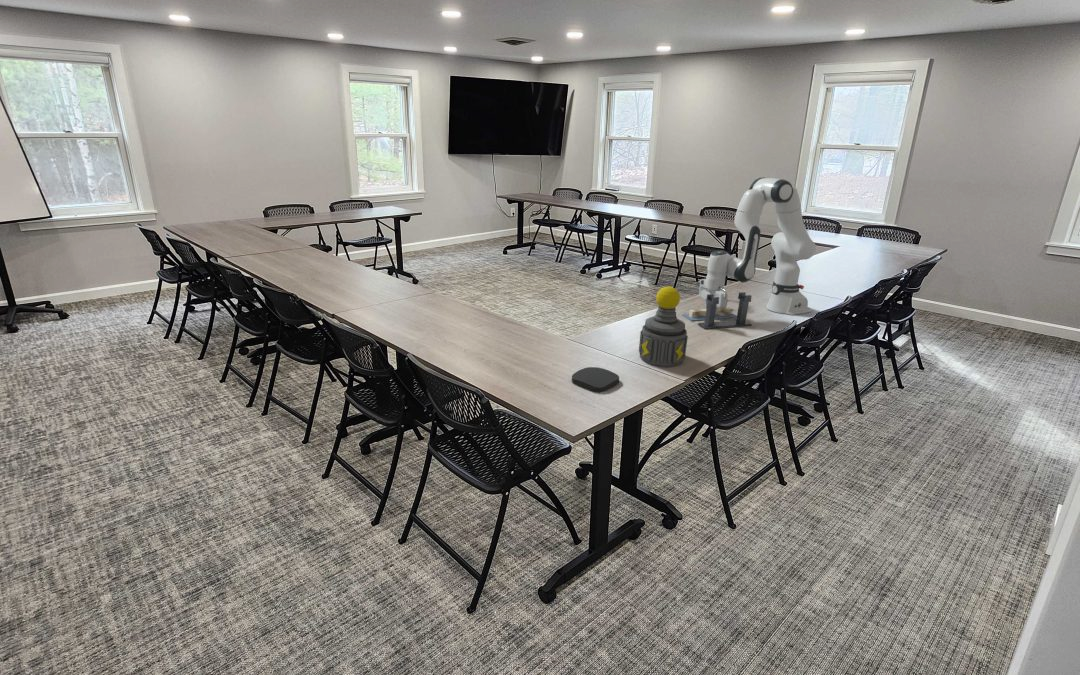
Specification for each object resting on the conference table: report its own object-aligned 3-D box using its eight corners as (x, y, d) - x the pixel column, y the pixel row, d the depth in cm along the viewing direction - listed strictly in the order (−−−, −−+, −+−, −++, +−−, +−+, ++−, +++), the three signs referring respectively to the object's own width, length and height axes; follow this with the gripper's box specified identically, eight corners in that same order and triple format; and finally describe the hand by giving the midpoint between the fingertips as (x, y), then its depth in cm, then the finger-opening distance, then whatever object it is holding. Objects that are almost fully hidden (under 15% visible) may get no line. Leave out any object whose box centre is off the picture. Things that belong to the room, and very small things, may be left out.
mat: (728, 312, 286) (728, 310, 286) (738, 317, 278) (738, 316, 278) (682, 315, 280) (682, 314, 280) (691, 321, 272) (691, 320, 272)
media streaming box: (599, 395, 197) (600, 387, 196) (567, 382, 206) (567, 375, 205) (623, 382, 207) (623, 375, 206) (591, 370, 216) (591, 363, 215)
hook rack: (744, 321, 273) (748, 291, 268) (751, 325, 268) (756, 295, 263) (697, 324, 267) (702, 294, 262) (704, 329, 262) (708, 298, 256)
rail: (728, 313, 283) (729, 307, 282) (731, 314, 280) (732, 309, 279) (688, 315, 278) (689, 310, 276) (691, 317, 275) (692, 311, 274)
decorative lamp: (695, 361, 226) (704, 289, 215) (660, 371, 216) (669, 296, 206) (661, 346, 241) (669, 278, 230) (628, 354, 231) (634, 284, 220)
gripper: (732, 290, 265) (728, 317, 270) (709, 278, 283) (705, 304, 288) (720, 290, 263) (716, 318, 268) (698, 279, 281) (694, 305, 286)
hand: (710, 311), depth 278 cm, fingers open, 5 cm apart
